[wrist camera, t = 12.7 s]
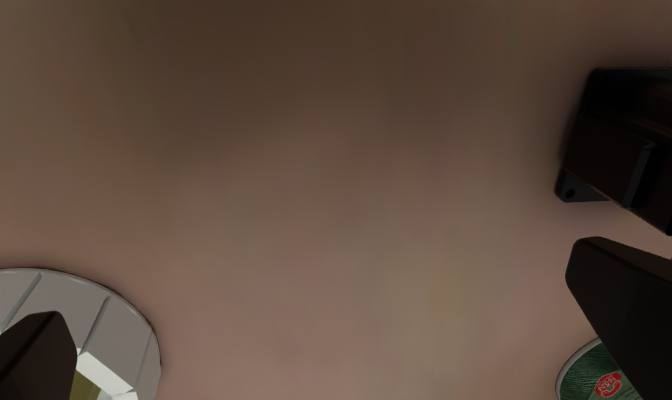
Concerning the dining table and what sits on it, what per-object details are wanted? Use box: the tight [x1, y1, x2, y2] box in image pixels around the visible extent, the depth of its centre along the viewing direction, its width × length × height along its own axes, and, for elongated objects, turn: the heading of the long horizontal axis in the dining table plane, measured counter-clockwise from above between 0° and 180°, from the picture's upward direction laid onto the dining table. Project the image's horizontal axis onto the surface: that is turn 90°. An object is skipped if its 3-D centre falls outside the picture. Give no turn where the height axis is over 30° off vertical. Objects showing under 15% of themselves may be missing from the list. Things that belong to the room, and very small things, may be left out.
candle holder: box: [0, 268, 161, 400], centre depth 20 cm, size 11×11×4 cm
